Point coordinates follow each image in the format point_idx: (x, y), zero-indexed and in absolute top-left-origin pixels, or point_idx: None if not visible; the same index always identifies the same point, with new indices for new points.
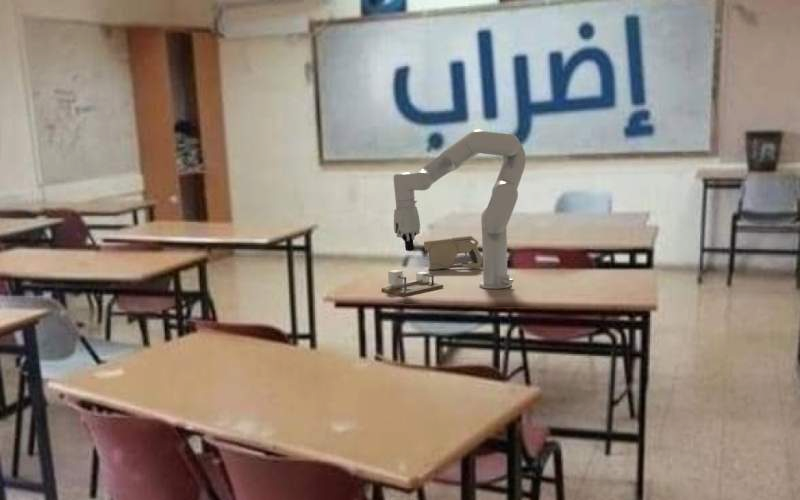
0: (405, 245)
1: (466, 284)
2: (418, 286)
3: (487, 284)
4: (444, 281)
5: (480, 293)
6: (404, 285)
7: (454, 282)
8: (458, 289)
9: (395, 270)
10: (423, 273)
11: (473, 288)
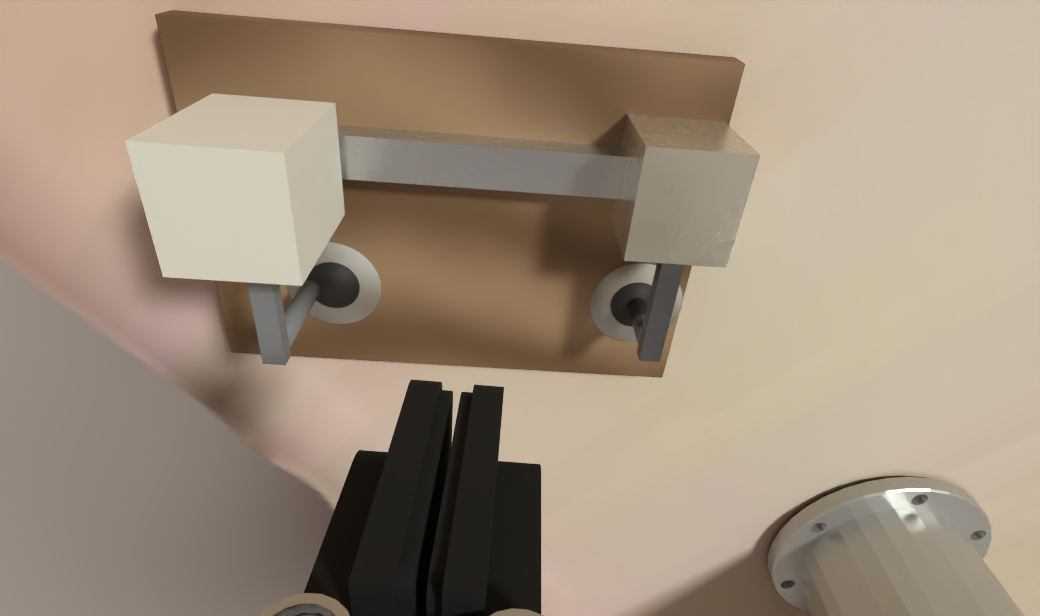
0: (340, 510)
1: (845, 407)
2: (493, 267)
3: (802, 563)
4: (897, 205)
5: (647, 581)
6: (290, 305)
7: (884, 300)
8: (671, 457)
9: (241, 193)
10: (669, 236)
11: (745, 500)
